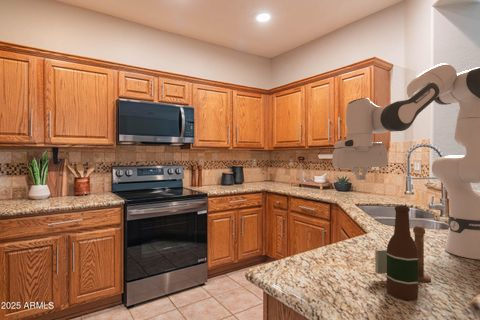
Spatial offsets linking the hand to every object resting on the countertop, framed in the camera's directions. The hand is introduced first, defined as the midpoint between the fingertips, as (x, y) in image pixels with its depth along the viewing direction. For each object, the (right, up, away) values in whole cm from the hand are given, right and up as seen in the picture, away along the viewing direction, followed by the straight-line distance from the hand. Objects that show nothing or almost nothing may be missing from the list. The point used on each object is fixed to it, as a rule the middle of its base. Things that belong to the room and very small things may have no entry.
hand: (360, 179), depth 100 cm
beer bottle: (0, -29, -26) cm, 39 cm away
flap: (+3, -27, -16) cm, 32 cm away
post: (+11, -29, -16) cm, 35 cm away
